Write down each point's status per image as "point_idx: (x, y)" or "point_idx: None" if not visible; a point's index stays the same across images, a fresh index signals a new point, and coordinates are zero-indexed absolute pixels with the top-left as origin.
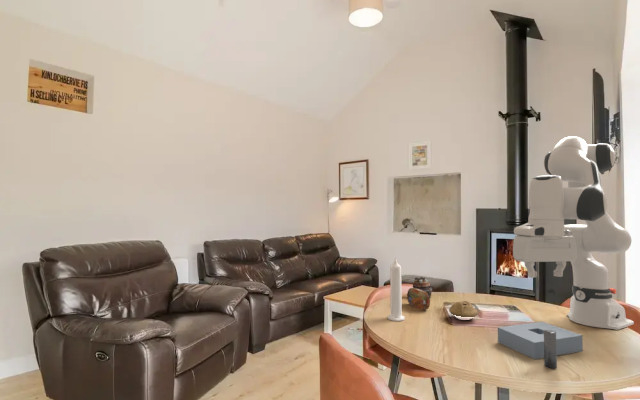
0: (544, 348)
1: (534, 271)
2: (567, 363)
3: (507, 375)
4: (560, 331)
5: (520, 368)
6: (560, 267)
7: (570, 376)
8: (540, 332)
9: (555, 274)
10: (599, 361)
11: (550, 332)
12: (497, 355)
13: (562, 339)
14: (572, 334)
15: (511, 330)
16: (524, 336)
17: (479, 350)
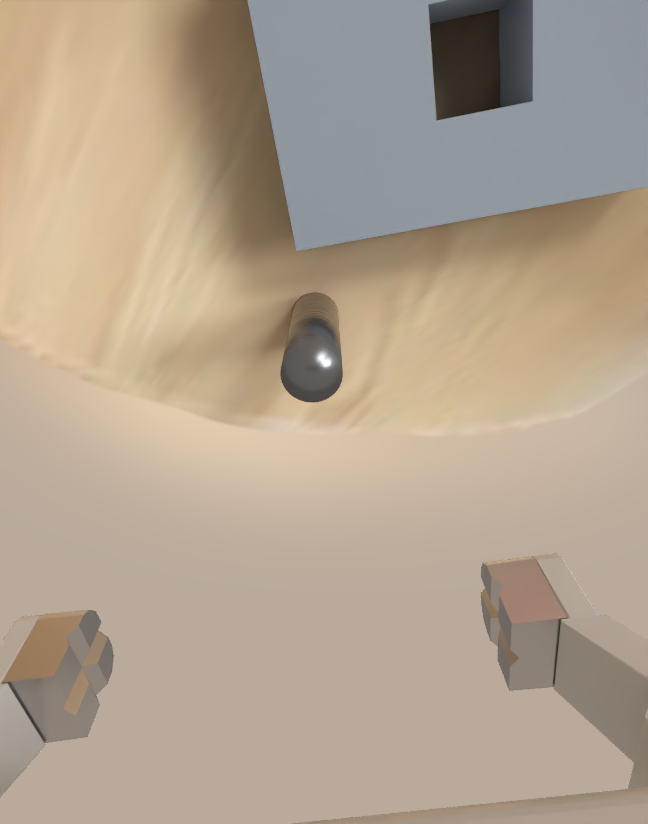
0: (288, 333)
1: (34, 748)
2: (417, 296)
3: (85, 359)
4: (627, 85)
5: (172, 312)
6: (612, 707)
7: None
8: (523, 16)
9: (488, 598)
10: (581, 297)
11: (304, 386)
12: (137, 162)
13: (512, 211)
14: (644, 156)
15: (294, 4)
16: (305, 145)
17: (64, 75)
